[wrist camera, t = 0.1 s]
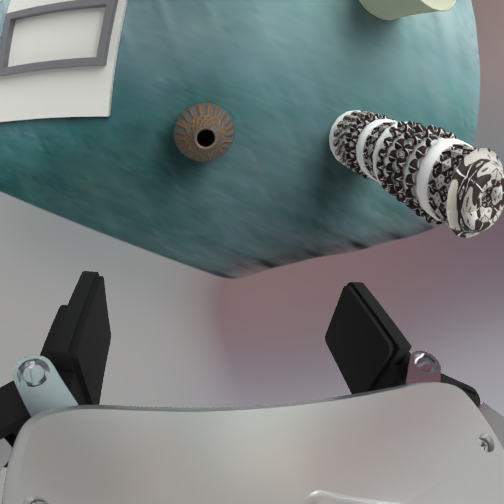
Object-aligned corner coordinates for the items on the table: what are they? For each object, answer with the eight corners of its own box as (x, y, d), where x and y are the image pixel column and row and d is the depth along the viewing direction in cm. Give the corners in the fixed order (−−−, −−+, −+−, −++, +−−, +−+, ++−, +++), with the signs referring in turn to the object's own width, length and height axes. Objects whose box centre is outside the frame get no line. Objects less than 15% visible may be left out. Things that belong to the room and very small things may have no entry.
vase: (182, 160, 39) (180, 179, 31) (169, 109, 35) (163, 114, 28) (235, 147, 39) (246, 162, 32) (224, 96, 36) (233, 97, 28)
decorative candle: (336, 178, 44) (453, 269, 22) (317, 118, 39) (451, 165, 18) (387, 158, 44) (515, 229, 22) (373, 100, 39) (517, 136, 17)
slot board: (20, -22, 20) (12, -26, 17) (138, -40, 24) (136, -47, 22) (-4, 121, 30) (-13, 124, 27) (110, 115, 34) (105, 117, 32)
